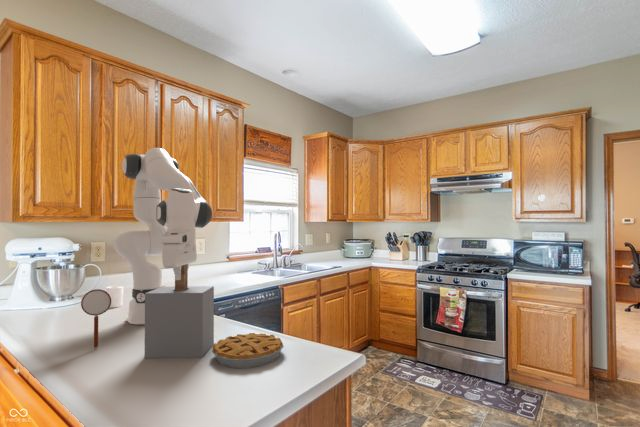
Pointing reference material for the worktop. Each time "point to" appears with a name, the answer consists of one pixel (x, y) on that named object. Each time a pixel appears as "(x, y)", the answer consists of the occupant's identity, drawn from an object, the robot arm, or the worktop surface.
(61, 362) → the worktop surface
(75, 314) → the worktop surface
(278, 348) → the pie
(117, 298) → the white cup
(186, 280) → the long brown rectangular block
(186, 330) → the grey tissue box
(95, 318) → the magnifying glass
